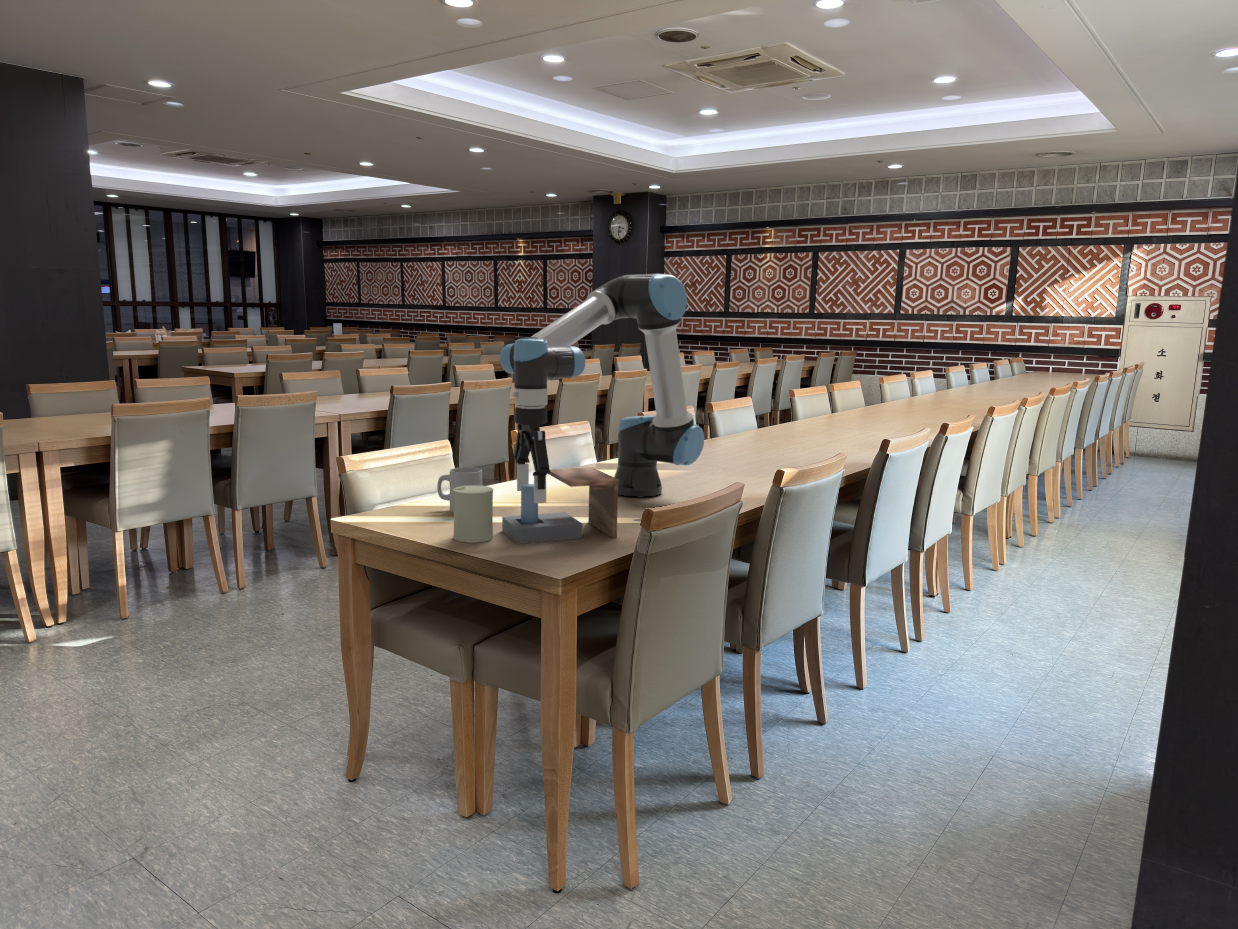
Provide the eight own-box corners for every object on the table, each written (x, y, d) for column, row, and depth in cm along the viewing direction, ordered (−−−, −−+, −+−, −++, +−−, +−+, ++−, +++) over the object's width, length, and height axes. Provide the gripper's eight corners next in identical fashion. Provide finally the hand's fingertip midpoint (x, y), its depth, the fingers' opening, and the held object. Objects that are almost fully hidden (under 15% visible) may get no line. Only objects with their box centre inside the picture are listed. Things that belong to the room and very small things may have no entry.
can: (455, 532, 197) (455, 483, 194) (494, 532, 197) (494, 483, 195) (451, 542, 187) (450, 491, 185) (492, 543, 188) (492, 491, 186)
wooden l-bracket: (591, 521, 211) (592, 467, 208) (617, 538, 195) (619, 479, 193) (546, 524, 206) (547, 469, 204) (569, 542, 191) (570, 482, 188)
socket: (565, 526, 205) (565, 512, 205) (582, 538, 195) (582, 523, 194) (502, 530, 199) (502, 516, 199) (516, 543, 188) (516, 528, 188)
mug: (486, 508, 222) (486, 467, 221) (477, 515, 214) (477, 473, 212) (442, 505, 224) (442, 465, 222) (432, 512, 215) (432, 471, 213)
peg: (534, 532, 198) (535, 483, 196) (539, 536, 195) (540, 486, 193) (518, 534, 197) (519, 484, 195) (523, 538, 193) (523, 487, 191)
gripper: (500, 401, 200) (501, 486, 204) (531, 413, 178) (531, 509, 182) (530, 400, 203) (530, 484, 207) (564, 412, 181) (564, 507, 185)
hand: (531, 496), depth 194 cm, fingers open, 13 cm apart
